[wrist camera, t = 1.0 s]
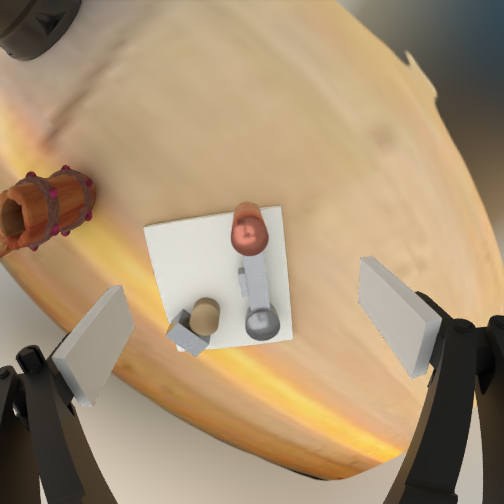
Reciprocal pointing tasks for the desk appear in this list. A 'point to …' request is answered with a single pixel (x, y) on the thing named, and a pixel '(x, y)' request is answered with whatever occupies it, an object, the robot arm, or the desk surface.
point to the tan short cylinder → (205, 316)
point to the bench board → (217, 272)
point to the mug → (44, 208)
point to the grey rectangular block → (186, 334)
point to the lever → (254, 271)
